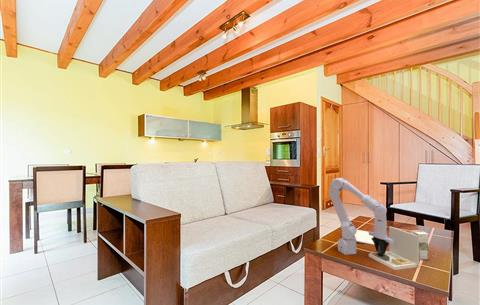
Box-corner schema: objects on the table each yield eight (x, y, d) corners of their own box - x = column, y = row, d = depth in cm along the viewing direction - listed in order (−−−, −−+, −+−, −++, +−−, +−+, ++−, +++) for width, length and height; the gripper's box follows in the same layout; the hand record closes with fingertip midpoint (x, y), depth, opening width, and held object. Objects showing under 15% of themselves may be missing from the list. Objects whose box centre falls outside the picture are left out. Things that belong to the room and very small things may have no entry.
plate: (383, 249, 139) (383, 245, 139) (340, 240, 154) (340, 236, 154) (387, 238, 159) (387, 235, 159) (349, 231, 174) (349, 228, 174)
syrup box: (420, 255, 130) (419, 229, 130) (429, 260, 124) (428, 233, 124) (410, 255, 130) (409, 230, 130) (418, 260, 124) (418, 233, 124)
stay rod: (380, 258, 122) (380, 245, 122) (377, 256, 124) (376, 243, 124) (384, 258, 122) (384, 245, 123) (380, 256, 125) (380, 243, 125)
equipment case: (394, 272, 111) (394, 238, 111) (368, 258, 126) (368, 228, 127) (419, 268, 114) (418, 235, 115) (391, 255, 130) (390, 226, 130)
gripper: (398, 231, 118) (398, 257, 117) (375, 223, 132) (375, 246, 131) (387, 232, 116) (387, 258, 116) (365, 223, 130) (365, 247, 130)
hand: (380, 252), depth 123 cm, fingers closed on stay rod, 2 cm apart
